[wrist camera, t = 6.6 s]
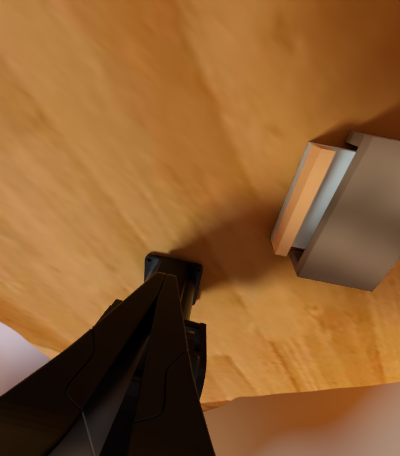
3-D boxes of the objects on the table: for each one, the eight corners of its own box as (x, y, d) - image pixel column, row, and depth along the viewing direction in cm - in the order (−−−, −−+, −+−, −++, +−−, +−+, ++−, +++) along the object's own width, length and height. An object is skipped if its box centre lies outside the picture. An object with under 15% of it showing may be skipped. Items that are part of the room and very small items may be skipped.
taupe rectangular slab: (355, 269, 22) (372, 291, 19) (289, 256, 22) (297, 276, 19) (443, 147, 16) (485, 157, 13) (350, 130, 16) (374, 136, 13)
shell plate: (349, 251, 21) (365, 272, 19) (269, 235, 21) (275, 254, 19) (409, 160, 17) (442, 171, 14) (307, 141, 17) (321, 148, 14)
